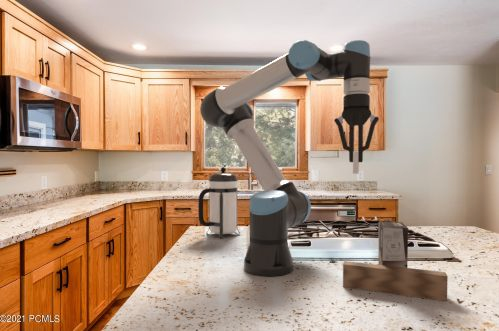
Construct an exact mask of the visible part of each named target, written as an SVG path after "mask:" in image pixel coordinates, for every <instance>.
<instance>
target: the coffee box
mask: <svg viewBox="0 0 499 331" xmlns="http://www.w3.org/2000/svg"><path fill="white" fill-rule="evenodd" d="M408 247H409V227H408V226H406V224H404V223H403V222H402V221H401V222H400V221H378V265H385V266H394V267H403V268H408V255H409V254H408V253H409V252H408V250H409V248H408Z"/></svg>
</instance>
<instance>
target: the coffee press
mask: <svg viewBox="0 0 499 331" xmlns="http://www.w3.org/2000/svg"><path fill="white" fill-rule="evenodd" d="M226 170H227V169H226V167H223V166H222V167H221V168H220V172H216V173H212V174H210V176H209V178H208V182H209V187H207V188H205V189H203V190H201V191H200V192H199V195H198V196H199V197H198V206H197V207H198V221H199V223H200V225H202V226H204V227H208V230H207V231H206V235H207V236H209V235H210V234H216V235H218V236H219V239H224V235H230V234H233V233H234V234H236V235H237V236H240V234H241V231H240V230H239V229H238V187H237V186H238V177H237V175H236V174H234V173H231V172H226ZM206 194H208V221H207V222H206V221H205V219H204V198H205V195H206ZM209 231H210V233H208V232H209ZM237 231H238V232H237Z"/></svg>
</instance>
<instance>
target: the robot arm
mask: <svg viewBox="0 0 499 331" xmlns="http://www.w3.org/2000/svg"><path fill="white" fill-rule="evenodd" d="M342 50H343V51H339V52H335V53H334V52H333V53H327V52H326V51H324V50H323V49H321V48H320V47H319V46H317V45H316V43H313V42H312V41H309V40H308V39H299V40H297V41H294V42H293V44H292V45H291V47H290V48H289V49H288V52H287V53H286V54H284V55H283V56H280V57H278V58H277V59H275V60H273V61H272V62H269V63H267V64H266V65H264V66H262V67H260V68H258V69H257V70H254V71H253V72H251V73H249V74H247V75H245V76H244V77H242V78H240V79H238V80H236V81H234V83H233V82H232V83H231V84H229V85H228V86H225V87H223V86H220V87H218V88H216V89H213V90H212V91H210V92H209V93H208V94H206V95H205V96H204V98H203V99H202V100H201V103H200V108H199V109H200V110H199V112H200V115H201V116H200V117H201V119H202V120H203V121H204V122H205V123H206V124H207V125H208V126H211V127H214V128H221V129H223V132H224V133H225V135H226V136H227V138H228V139H230V140H234V142H235V143H236V146H237V148H238V149H239V151H240V152H241V154H242V156H243V157H244V159H245V160H246V162H247V164H248V166H249V168H250V169H251V171H252V173H253V174H254V176H255V178H256V180H257V182H258V183H259V185H260V186H261V188H262V190H263V191H258V192H256V193H255V192H254V193H253V194H252V195H251V197H250V200H249V206H248V209H249V244H248V247H247V251H246V254H245V258H244V261H243V269H244V271H245V272H247V273H249V274H252V275H256V276H262V277H277V276H283V275H287V274H290V273H291V272H293V271H294V259H293V257H292V254H291V249H290V247H289V244H288V233H289V232H288V229H290V228H293V227H297V226H301V224H303V223H305V222H306V221H307V220H308V218H309V217H310V216H311V210H312V205H311V201H310V198H309V197H308V195H307V194H306V193H304V192H302V191H300V190H298V189H297V187H296V185H295V184H294V182H293V181H291V180H287V178H286V177H285V176H284V174H283V173H282V171H281V169H280V167H279V166H278V164H277V162H276V161H275V160H274V158H273V157H272V155H271V154H270V151H269V150H268V149H267V147H266V146H265V144H264V142H263V140H262V139H261V137H260V136H259V134H258V132H257V130H256V129H255V123H256V122H255V120H254V110H253V109H252V106H251V105H250V104H249V102H250V101H253V100H255V99H257V98H259V97H261V96H264V95H265V94H267V93H269V92H271V91H274V90H275V89H277V88H279V87H281V86H283V85H285V84H287V83H289V82H291V81H293V80H295V79H297V78H300V77H301V76H303V75H305V77H306V78H307V80H308V81H309V82H316V81H317V82H321V81H325V80H333V79H338V78H339V79H340V78H343V95H344V96H343V104H342V105H343V111H342V112H341V115H340V116H338V117H336V118H334V122H335V124H336V126H337V128H338V132H339V136H340V141H341V145H342V148H343V149H344V150H345V151H348V160H349V163H352V174H360V173H359V172H360V169H359V167H360V163H363V160H364V157H363V156H364V154H363V153H364V152H365V151H368V150H369V149H370V147H371V146H370V145H371V143H372V139H373V135H374V130H375V126H376V125H377V123H378V122H379V121H380V119H379V116H376V115H374V114H372V111H371V109H370V105H371V104H370V103H371V102H370V100H371V99H370V98H371V97H370V95H369V94H370V92H371V91H370V90H371V77H370V76H371V74H370V73H371V58H372V57H371V51H370V50H371V48H370V44H369V42H367V41H366V40H363V39H360V40H358V39H357V40H351V41H349V42H348V41H347V42H346V43H345V44H344V45H343V49H342ZM368 120H369V122H370V125H369V127H368V128H369V129H368V133H367V136H366V140H365V144H364V125H365V124H366V123H367V121H368ZM344 122H345V123H346V124H347V125H348V128H349V129H348V130H349V132H348V135H349V136H348V140H349V141H348V142H349V143H347V138H346V135H345V131H344V126H343V123H344ZM355 126H357V129H358V130H357V131H358V134H357V135H358V136H357V137H358V138H357V139H358V140H357V141H358V142H357V144H358V145H357V148H358V149H357V150H358V151H355Z"/></svg>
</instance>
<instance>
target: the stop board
mask: <svg viewBox="0 0 499 331" xmlns="http://www.w3.org/2000/svg"><path fill="white" fill-rule="evenodd" d="M448 280H449V279H448V275H447V272H446V271H438V270H431V269H430V270H429V269H419V268H412V267H411V268H409V267H407V268H403V267H394V266H385V265H379V264H375V263H365V262H358V261H357V262H356V261H347V260H344V261H343V264H342V287H343V288H347V289H355V290H356V289H357V290H363V291H369V292H370V291H371V292H378V293H385V294H394V295H401V296H407V297H415V298H422V299H429V300H435V301H436V300H437V301H443V302H448Z"/></svg>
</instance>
